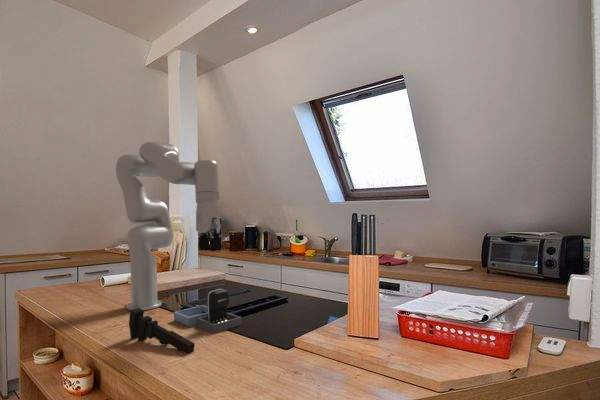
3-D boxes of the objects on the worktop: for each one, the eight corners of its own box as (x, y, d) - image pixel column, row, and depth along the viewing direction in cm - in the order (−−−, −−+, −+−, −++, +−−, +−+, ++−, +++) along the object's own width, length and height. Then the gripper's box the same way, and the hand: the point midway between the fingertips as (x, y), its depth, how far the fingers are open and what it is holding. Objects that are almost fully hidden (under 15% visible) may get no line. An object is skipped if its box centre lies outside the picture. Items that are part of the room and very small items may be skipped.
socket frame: (197, 325, 120) (197, 318, 120) (223, 318, 127) (223, 311, 127) (214, 333, 113) (214, 325, 113) (241, 324, 120) (241, 317, 120)
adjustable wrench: (184, 372, 98) (127, 336, 110) (192, 368, 100) (135, 333, 113) (188, 342, 97) (130, 310, 109) (196, 338, 99) (138, 307, 112)
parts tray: (174, 320, 126) (173, 311, 126) (203, 313, 134) (203, 305, 134) (188, 327, 119) (188, 318, 119) (218, 319, 127) (218, 310, 127)
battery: (214, 329, 116) (213, 293, 116) (206, 327, 118) (206, 291, 118) (231, 323, 121) (230, 289, 121) (224, 321, 124) (223, 287, 124)
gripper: (187, 199, 127) (189, 249, 126) (206, 196, 113) (208, 252, 112) (208, 199, 131) (210, 247, 130) (228, 195, 117) (231, 250, 116)
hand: (209, 249), depth 121 cm, fingers open, 9 cm apart
